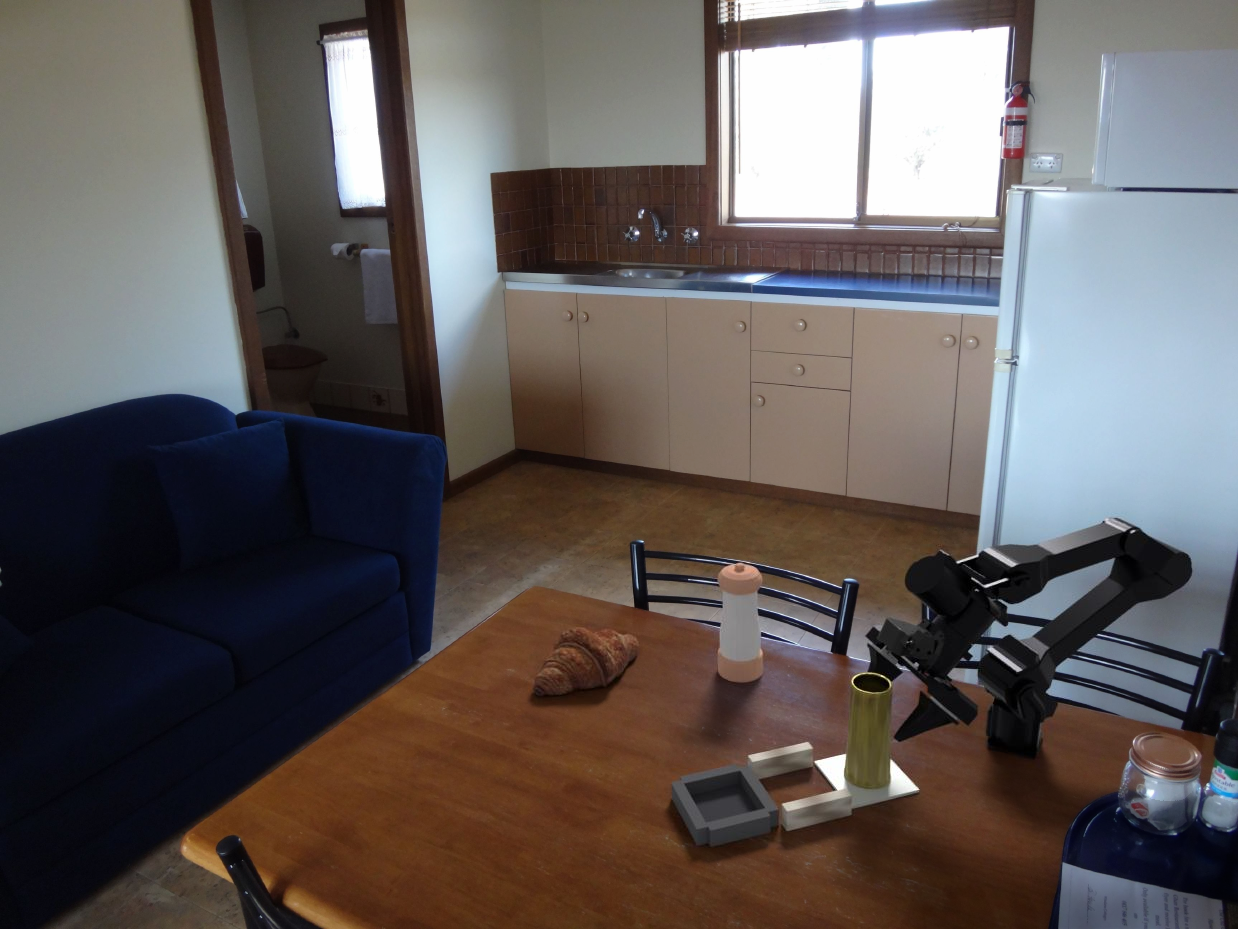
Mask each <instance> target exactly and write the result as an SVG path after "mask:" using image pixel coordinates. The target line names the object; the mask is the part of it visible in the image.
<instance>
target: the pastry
mask: <svg viewBox="0 0 1238 929" xmlns="http://www.w3.org/2000/svg"><path fill="white" fill-rule="evenodd" d="M639 648H640V643H639V641H638V639H637V638H636V637H635V636H634V635H632V634H627V633H626V634H624V635H623V634H621V633H618V631H616V630H614V629H611V628H604V629H601V630H599V631H596V632H592V631H591V630H588V628H585V627H582V626H579V627H570V628H567V629H564V631H563V632H562V633H561V634H560V636H559V638H558V639H557V640H556V642H554V646H553V651H551V652H550V653H548V655H547V656H546V657H545V659H544V660H543V661H544V662H543V665H542V667H541V670H540V671H539V673H538V674H537V675H536V677H535V678H534V684H533V688H532V690H533V692H534V693H535V696H537V695H538V696H537V697H539V696H543V695H545V694H546V695H545V696H551V695H559V696H563V695H562V694H564V695H567V694H569V693H572V692H573V691H577V690H576V689H579V690H581V691H583V690H582V689H589V690H592V689H591V688H593V689H596V688H601V687H602V686H603V688H606V687H607V686H608V685H610V684H611V683H612V682H614V680H615V679H616V677H617V678H619V677H620V676H619V675H621V674H622V673H624V670H625V669H626V667H627V666H628V664H629V663H631V662H632V661H633V660H635V658H636V657H637V655H638V652H639ZM630 661H631V662H630ZM605 686H606V687H605ZM595 687H596V688H595ZM571 691H572V692H571ZM568 692H569V693H568ZM566 693H567V694H566ZM543 697H544V696H543Z"/></svg>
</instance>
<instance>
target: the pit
mask: <svg viewBox="0 0 1238 929" xmlns="http://www.w3.org/2000/svg"><path fill="white" fill-rule="evenodd" d="M670 786H671V787H670V788H671V789H670V790H671V791H670V793H671V800H672V801H673V804H674V805H675V807H676V810H677V811H678V813H679V815H680V817H681V818H682V820H683V822H684V824H685V826H686V828H687V829H688V831H689V833H690V836H691V837H692V839H693V842H694V843H695V845H696V847H699V846H703V845H709V847H710V848H713V847H716V846H717V847H718V846H721V845H726V844H730V843H734V842H737V841H741V840H747V839H749V838H753V837H757V836H760V835H761V836H762V835H764V834H769V833H771V828H774V827H779V826H780V809H779V807H778V806H777V804H776V803H775V801H774V800H773V799H772V797H771V796H770V794H769V793H768V791H767V790H766V789H765V787H764V785H763V784H762V783H761V781H760V779H758V778H757V777H756V775H755V774H754V772H753V771H752V769H751V768H750V767H749V765H748V764H746V765H742V766H738V765H737V763H734V764H730V765H726V766H721V767H717V768H711V769H708V770H704V771H703V770H702V771H699V772H694V773H689V774H685V775H681V776H679V780H676V781H672V782H670Z"/></svg>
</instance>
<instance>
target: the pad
mask: <svg viewBox="0 0 1238 929" xmlns="http://www.w3.org/2000/svg"><path fill="white" fill-rule="evenodd" d="M845 760H846V753H845V754H841V755H840V754H839V755H835V756H832V757H831V756H830V757H828V758H823V759H819V760H813V764H814V765H815V767H816V768H817V769H818V770H819V772H821V774H822V775H823V776H824V777H825V779H826V780H827V781H828V783H829V784H830V785H831V786H832V787H833V789H834V791H837V790H841V789H845V788H846V789H847V790H848V791H849V792H850V794H851V795H852V809H851V810H854V809H857V808H861V807H866V806H870V805H873V804H877V803H881V802H885V801H890V800H893V799H896V798H898V799H899V798H901V797H905V796H909V795H914V794H917V793H920V789H919V787H918V786H917V785H915V783H914V782H913V781H912V780H911V779H910V778H909V777H908V776H907V775H906V774H905V772H904V771H902V770H901V768H900V767H899V766H898V765H897V763H895V761H894V760H893V759H891V763H890V773H891V779H890V781H889V782H888V783H887V784H886V785H885V786H883V787H880V788H875V789H868V788H863V787H859V786H856V785H854V784H853V783H851V782H850V781H849V780H848V779H847V778H846V776H845V774H844V768H845Z"/></svg>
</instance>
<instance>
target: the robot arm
mask: <svg viewBox="0 0 1238 929" xmlns="http://www.w3.org/2000/svg"><path fill="white" fill-rule="evenodd" d="M1113 559H1114V560H1113ZM1109 560H1113V562H1112V566H1111V569H1110V572H1109V575H1107V577H1105V578H1104V579H1103V580H1102V581H1101V582H1099V583H1098V584H1097V585H1096V586H1094V587H1093V588H1092V589H1091V590H1089V591H1088V592H1087V593H1086V594H1084V595H1083V596H1081V597H1080V598H1079V599H1077V601H1075V602H1074V603H1072V604H1071V605H1070V606H1069V607H1067V608H1066V609H1065V610H1063V612H1061V613H1060V614H1058V615H1057V616H1056V617H1054V618H1053V619H1052V620H1051V621H1049V622H1048V623H1047V624H1046V625H1045V626H1043V627H1042V628H1041V629H1039V630H1038V631H1037V632H1036V633H1034V634H1033V635H1032V636H1029V637H1027V638H1023V639H1018V637H1016V636H1014V634H1011V633H1008V634H1007V635H1005V636H1003V637H1002V638H1001V639H1000V640H999V641H998V642H997V643H995V645H993V646H991V647H988V648H986V649H985V651H986V652H987V653H985V654H984V655H983V657H981V658H980V660H979V661H978V668H977V679H978V682H979V683H980V684H981V685H982V686H983V687H984V692H986V694H987V693H988V694H990V695H991V696H992V697H994V699H993V701H992V702H990V703H989V706H988V709H987V712H986V713H987V714H986V715H987V716H986V724H985V736H986V737H987V740H986V747H987V748H989V749H993V750H997V751H1001V752H1004V753H1009V754H1013V755H1017V756H1020V757H1024V758H1028V759H1032V760H1034V759H1035V760H1036V759H1037V757H1038V754H1039V750H1040V745H1041V740H1042V737H1043V732H1042V725H1043V723H1045V720H1046V719H1048V718H1052V717H1054V714H1055V712H1056V710H1057V708H1058V706H1059V703H1058V701H1056V700H1055V699H1054V698H1053V697H1052V696H1051V695H1050V694H1049V693H1048V692H1047V691H1049V689H1050V688H1051V686H1052V684H1053V683H1052V682H1053V681H1054V680H1053V679H1054V676H1055V673H1056V670H1057V667H1059V666H1060V665H1061V664H1062V663H1064V661H1066V660H1067V659H1069V658H1070V657H1071V656H1073V654H1075V653H1076V652H1077V651H1079V650H1080V649H1081V648H1082V647H1083V646H1085V645H1087V644H1088V643H1089V642H1090V641H1091V640H1093V639H1094V638H1095V637H1096V636H1098V635H1099V634H1101V632H1103V631H1104V630H1105V629H1107V628H1108V627H1109V626H1111V625H1112V624H1114V622H1116V621H1117V620H1119V618H1121V617H1122V616H1124V615H1125V614H1126V613H1127V612H1129V610H1132V608H1133V607H1135V606H1136V605H1137V604H1141V603H1147V602H1153V601H1156V600H1157V601H1158V600H1162V599H1164V598H1166V597H1168V596H1170V595H1172V594H1174V593H1175V592H1176V591H1179V589H1181V588H1183V587H1184V586H1185V585H1186V584H1187V583H1189V581H1190V579H1191V577H1192V575H1193V567H1192V566H1193V564H1192V559H1191V557H1190V555H1189V554H1188V553H1186V552H1185V551H1183V550H1180V549H1179V548H1175V547H1174V546H1171V545H1170V544H1167V543H1165V542H1163V541H1161V540H1159V539H1158V538H1157V539H1156V538H1155V537H1152V536H1150V535H1148V534H1147V533H1146V532H1144V531H1143V529H1142V528H1141V527H1138V526H1136V525H1134V524H1133V523H1131V522H1129V521H1126V520H1124V519H1121V518H1118V517H1107V518H1106V519H1104V520H1103V521H1102V522H1101V523H1098V524H1095V525H1091V526H1088V527H1086V528H1083V529H1080V530H1077V531H1073V532H1071V533H1067V534H1065V535H1061V536H1057V537H1055V538H1052V539H1049V540H1046V541H1043V542H1040V543H1037V544H1030V545H1028V544H1027V545H1026V544H1015V543H1014V544H1012V543H1009V544H1008V543H1007V544H1002V545H994V546H989V547H987V548H985V549H983V550H981V551H980V552H979V553H978V554H975V555H973V556H969V557H966V558H963V559H960V560H957V561H956V558H954V557H953V556H952V555H951V554H949V553H947V552H946V551H945V550H942V549H939V550H938V551H937V552H936V554H935V555H928V556H925V557H922V558H920V559H918V560H917V561H914V562H913V563H912V564H911V565H910V566H909V568H908V569H907V570H906V571H907V572H906V573H905V576H904V586H905V589H907V591H908V592H910V593H911V594H912V595H913V596H914V597H915V598H916V599H918V600H919V601H920V602H921V603H922V604H923V605H924V606H925V607H927V608H928V609H929V610H930V611H931V612H932V613H934V614H935V615H937V616H936V617H935V618H934V619H933V621H932V620H930V619H929V618H927V617H925V619H922V620H920V622H919V623H918V624H917V625H916V624H913V623H911V622H907V621H903V620H901V619H898V618H897V619H896V618H893V617H888V616H887V617H886V618H885V620H884V622H883V624H877V625H874V626H871V628H870V630H869V631H868V632H867V633H866V634H865V635H864V637H866V638H867V640H869V641H870V642H871V644H870V643H869V642H867V644H866V648H868V652H869V656H870V662H869V666H868V668H867V672H868V673H876V674H880V675H883V676H885V677H886V678H888V679H889V680H890V681H891V683H892V682H894V681H895V680H897V678H898V677H900V676H901V675H902V674H903V673H904V671H903V670H902V669H901V668H900V667H905V668H906V669H907V670H908V671H909V672H911V674H913V675H914V676H915V677H916V678H917V679H918V680H919V681H921V682H922V683H923V684H924V685H925V686H926V687H927V688H926V689H927V690H926V692H927V693H928V694H929V695H930V697H929V696H928V695H927V694H926V693H925V692H923V691H922V690H919V696H918V704H917V705H916V706H915V708H914V710H912V711H911V713H910V714H909V716H907V718H906V719H905V721H904V722H902V724H901V725H900V726H899V728H898V729H897V731H896V733H895V734H894V736H893V739H894V740H895V741H896V742H898V743H902V742H905V741H906V740H909V739H911V738H913V737H916V736H918V735H921V734H924V733H927V732H928V731H931V730H934V729H937V728H941V727H944V726H947V725H951V724H953V725H955V726H958V725H960V721H961V722H962V723H964V724H965V725H966V726H967V727H968V726H970V725H971V724H972V723H973V721H975V719H976V718H977V716H978V713H979V712H978V711H979V705H978V704H977V703H976V702H975V701H973V700H972V699H971V698H970V697H968V696H967V695H966V694H965V693H964V692H962V691H961V690H960V689H959V688H958V687H957V686H955V685H954V683H951V682H952V681H953V679H952V677H950V676H949V674H950V673H951V672H952V671H953V670H954V668H955V667H956V666H957V665H958V664H959V663H960V661H961V660H962V659H964V660H965V661H967V662H970V661H971V659H972V658H973V657H974V655H973V654H971V653H970V652H969V651H970V650H971V649H972V648H973V647H974V645H975V644H976V643H977V642H978V641H979V640H980V639H981V637H982V636H983V635H984V634H985V633H986V632H987V630H988V629H989V628H990V627H991V626H992V625H993V624H994V622H996V623H998V624H1000V625H1002V626H1003V627H1007V626H1008V625H1009V616H1008V605H1016V604H1021V603H1023V602H1025V601H1027V600H1028V599H1030V598H1033V597H1034V596H1036V595H1038V594H1039V593H1042V592H1043V590H1044V589H1045V587H1046V585H1047V584H1048V583H1049V582H1050V581H1052V580H1054V579H1057V578H1059V577H1063V576H1065V575H1068V574H1071V573H1074V572H1077V571H1080V570H1083V569H1086V568H1089V567H1092V566H1095V565H1098V564H1100V563H1103V562H1107V561H1109ZM1000 600H1001V601H1000ZM1002 601H1003V602H1005V603H1006V604H1005V603H1003V602H1002ZM1007 604H1008V605H1007ZM916 663H917V664H918V665H915V664H916ZM897 664H898V665H899V666H900V667H898V666H897ZM867 672H866V673H867ZM926 672H927V673H928V674H926ZM958 720H960V721H958Z"/></svg>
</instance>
